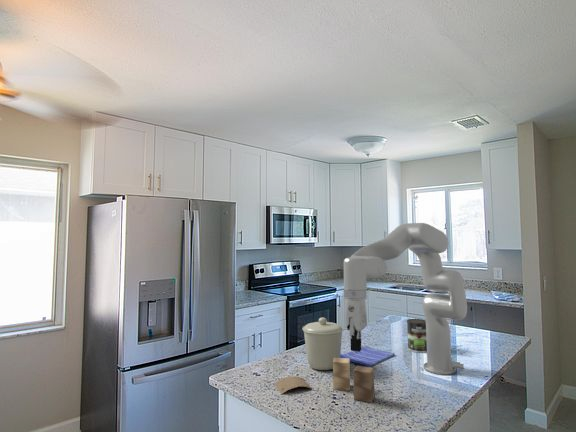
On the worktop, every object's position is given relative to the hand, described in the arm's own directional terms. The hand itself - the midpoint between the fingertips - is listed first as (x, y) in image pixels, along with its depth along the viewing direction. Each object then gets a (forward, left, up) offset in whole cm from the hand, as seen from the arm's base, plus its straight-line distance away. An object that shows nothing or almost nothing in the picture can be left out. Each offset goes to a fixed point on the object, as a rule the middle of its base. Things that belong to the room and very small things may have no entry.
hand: (356, 350), depth 120 cm
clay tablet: (+27, -7, -20) cm, 34 cm away
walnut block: (0, -8, -19) cm, 21 cm away
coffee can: (-11, -73, -19) cm, 77 cm away
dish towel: (+10, -51, -20) cm, 56 cm away
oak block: (+10, -14, -19) cm, 26 cm away
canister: (+24, -32, -19) cm, 45 cm away
